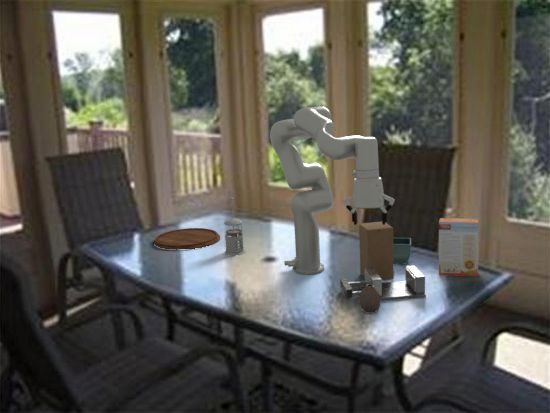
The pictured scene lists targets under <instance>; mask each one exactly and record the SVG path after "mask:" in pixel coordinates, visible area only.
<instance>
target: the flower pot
mask: <svg viewBox="0 0 550 413" xmlns="http://www.w3.org/2000/svg"><path fill="white" fill-rule="evenodd" d="M411 250H412V238H411V237H393V265H395V264H397V265H402V264H403V265H406V264H407V263H408V261H409V260H410V256H411Z"/></svg>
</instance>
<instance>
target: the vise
mask: <svg viewBox="0 0 550 413" xmlns="http://www.w3.org/2000/svg"><path fill="white" fill-rule="evenodd" d="M404 270H405V271H404V273H405V276H404V277H405V280H400V281H398V280H397V281H386V282H385V281H384V282H382V296H380V298H381V302H387V301H388V302H389V301H400V300H411V299H413V300H414V299H423V298H424V299H425V298H427V294H426V276H425V275H424V274H423V273H422V272H421V270H419V269H418V267H416V265H414V264H413V265H406V266H405V269H404ZM365 287H366V286H364V287H358V288H359V291H363V290H364V288H365Z"/></svg>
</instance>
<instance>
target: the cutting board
mask: <svg viewBox="0 0 550 413" xmlns="http://www.w3.org/2000/svg"><path fill="white" fill-rule="evenodd" d="M220 240H221V236H220V234H219V233H218V232H217V231H216V230H214V229H210V228H204V227H203V228H202V227H189V228H179V229H175V230H169V231H166V232H163V233H161V234H158V235H157V236H156V237H155V238H154V240H153V241H154V244H155V245H156V246H158V247H160V248H165V249H176V250H177V249H194V250H196V249H195V248H200V249H203V248H202V247H204V248H207V247H206V246H208V247H210V245H211V246H213V245H215V244H216V243H218V242H220Z"/></svg>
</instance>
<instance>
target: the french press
mask: <svg viewBox="0 0 550 413" xmlns="http://www.w3.org/2000/svg"><path fill="white" fill-rule="evenodd" d="M229 201H230V202H231V205H233V201H234V197H229ZM231 215H232V218H230V219H227V220H225V221H224V222H223V224H224V225H225V226H228V227H232V229H228V230H226V231H225V233H226V234H225V235H224V237H225V239H224V240H225V252H224V253H225V254H226V256H228V255H230V257H233V256H234V257H236V255H238V256H242V255H244V254H246V253H247V251H246V249H245V248H244V235H243V234H244V233H243V226H242V224H243V221H242V220H241V219H238V218H234V212H233V210H231ZM234 226H235V227H237V229H236V228H234ZM240 227H241V229H240ZM225 254H224V255H225Z"/></svg>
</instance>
